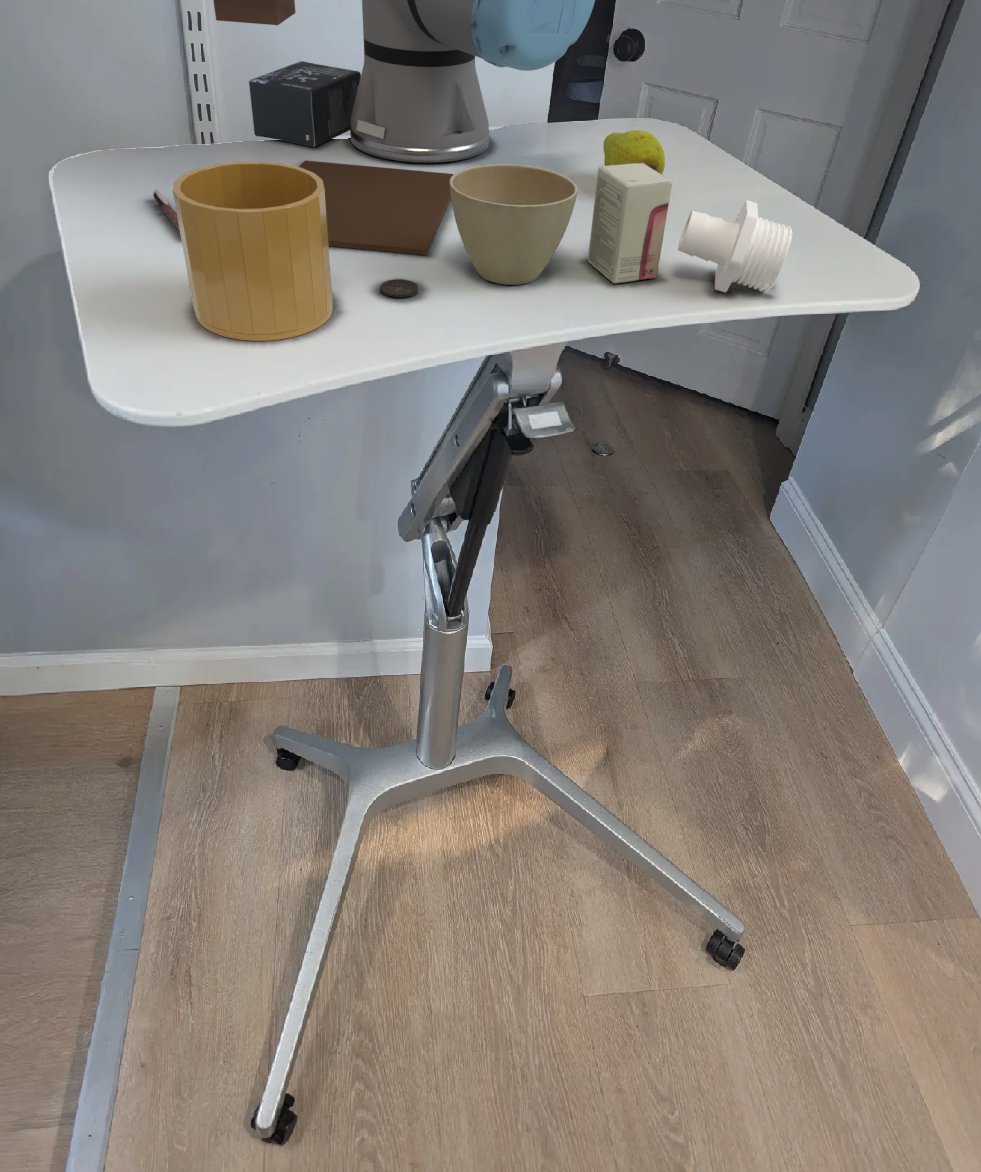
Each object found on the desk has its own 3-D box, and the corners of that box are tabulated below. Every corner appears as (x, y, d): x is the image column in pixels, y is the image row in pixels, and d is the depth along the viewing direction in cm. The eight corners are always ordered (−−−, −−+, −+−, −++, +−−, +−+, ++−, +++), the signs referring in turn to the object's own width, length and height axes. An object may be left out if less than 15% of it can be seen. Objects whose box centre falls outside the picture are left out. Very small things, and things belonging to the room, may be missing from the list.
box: (361, 69, 100) (311, 91, 92) (363, 125, 104) (315, 150, 96) (300, 59, 102) (246, 79, 94) (304, 113, 105) (253, 137, 98)
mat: (305, 165, 92) (304, 160, 92) (459, 179, 91) (459, 174, 91) (242, 237, 77) (241, 232, 77) (426, 255, 76) (426, 249, 76)
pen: (151, 198, 83) (149, 186, 82) (160, 197, 83) (157, 185, 82) (185, 241, 75) (182, 229, 75) (194, 240, 76) (192, 228, 75)
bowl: (591, 286, 73) (603, 195, 68) (484, 307, 69) (489, 213, 65) (528, 242, 80) (534, 156, 75) (427, 259, 76) (427, 170, 71)
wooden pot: (222, 276, 71) (203, 155, 65) (346, 288, 71) (339, 168, 65) (174, 333, 64) (149, 203, 58) (313, 347, 63) (301, 217, 57)
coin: (409, 300, 69) (423, 284, 72) (409, 297, 69) (423, 282, 71) (374, 294, 70) (389, 278, 72) (373, 291, 70) (388, 276, 72)
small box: (658, 279, 75) (675, 181, 70) (612, 285, 74) (627, 185, 68) (629, 256, 78) (643, 160, 73) (585, 261, 77) (597, 164, 72)
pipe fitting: (672, 252, 77) (760, 280, 78) (668, 284, 72) (763, 314, 72) (700, 177, 73) (794, 207, 73) (699, 205, 68) (799, 237, 68)
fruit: (612, 190, 87) (562, 154, 95) (657, 211, 90) (605, 175, 98) (642, 130, 84) (588, 98, 92) (687, 154, 87) (631, 121, 95)
